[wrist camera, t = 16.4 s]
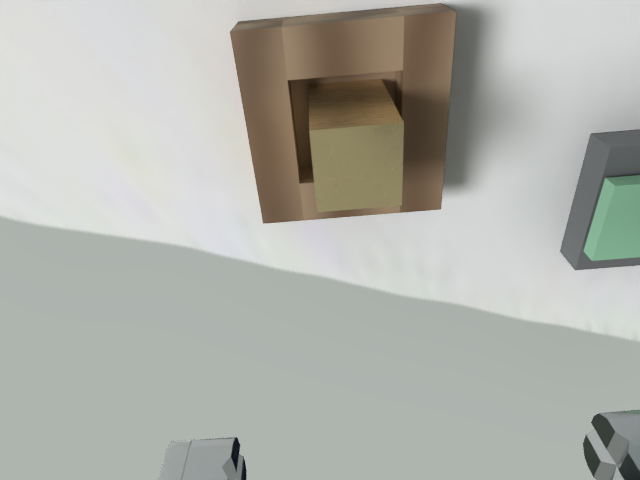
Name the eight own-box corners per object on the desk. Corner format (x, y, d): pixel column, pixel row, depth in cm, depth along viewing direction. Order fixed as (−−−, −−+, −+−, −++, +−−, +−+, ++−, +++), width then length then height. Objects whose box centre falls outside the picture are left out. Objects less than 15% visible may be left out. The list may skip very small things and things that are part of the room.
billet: (381, 78, 28) (403, 122, 22) (381, 147, 31) (401, 205, 24) (308, 84, 28) (309, 130, 22) (314, 152, 31) (316, 212, 24)
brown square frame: (440, 3, 27) (456, 11, 24) (429, 185, 34) (440, 209, 31) (238, 21, 27) (230, 32, 24) (267, 198, 34) (263, 223, 31)
